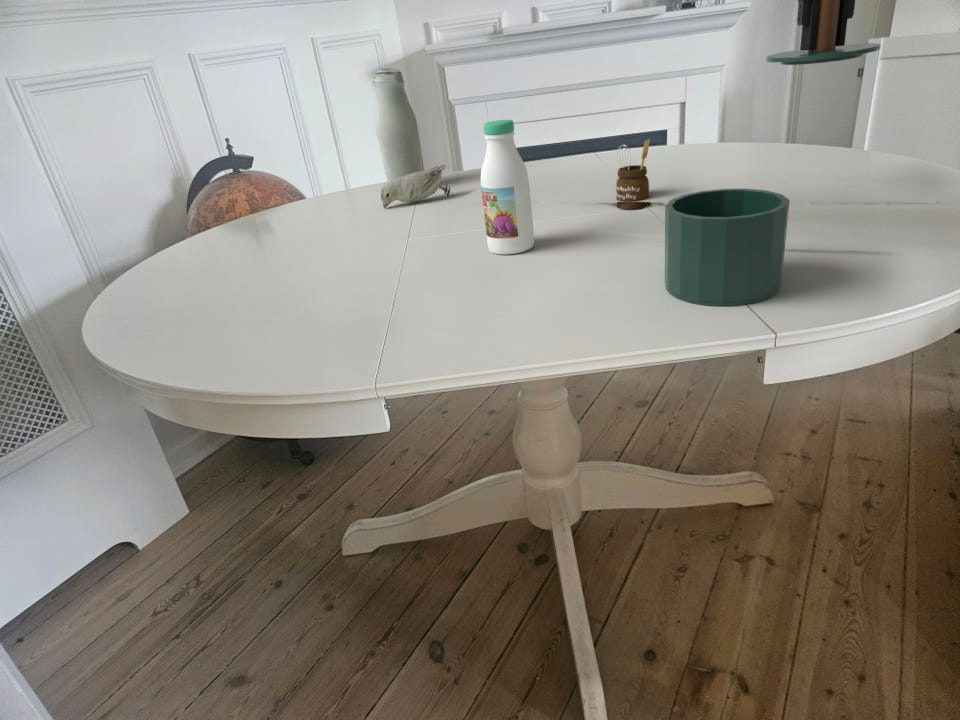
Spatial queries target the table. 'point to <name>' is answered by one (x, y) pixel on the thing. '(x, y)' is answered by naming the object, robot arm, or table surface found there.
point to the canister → (725, 246)
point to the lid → (824, 41)
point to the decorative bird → (413, 186)
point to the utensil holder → (633, 184)
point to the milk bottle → (505, 192)
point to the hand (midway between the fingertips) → (822, 47)
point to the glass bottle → (396, 126)
